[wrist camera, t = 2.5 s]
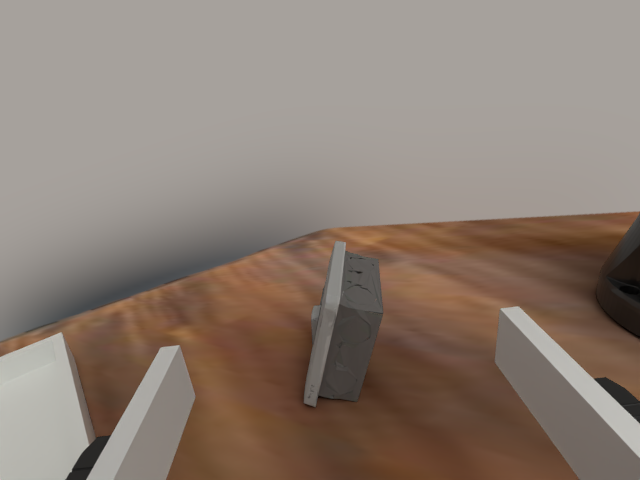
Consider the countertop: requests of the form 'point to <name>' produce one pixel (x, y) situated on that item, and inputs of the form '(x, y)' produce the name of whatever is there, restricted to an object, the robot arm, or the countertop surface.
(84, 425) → the white square tray
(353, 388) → the electrical switch
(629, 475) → the robot arm
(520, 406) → the countertop surface
